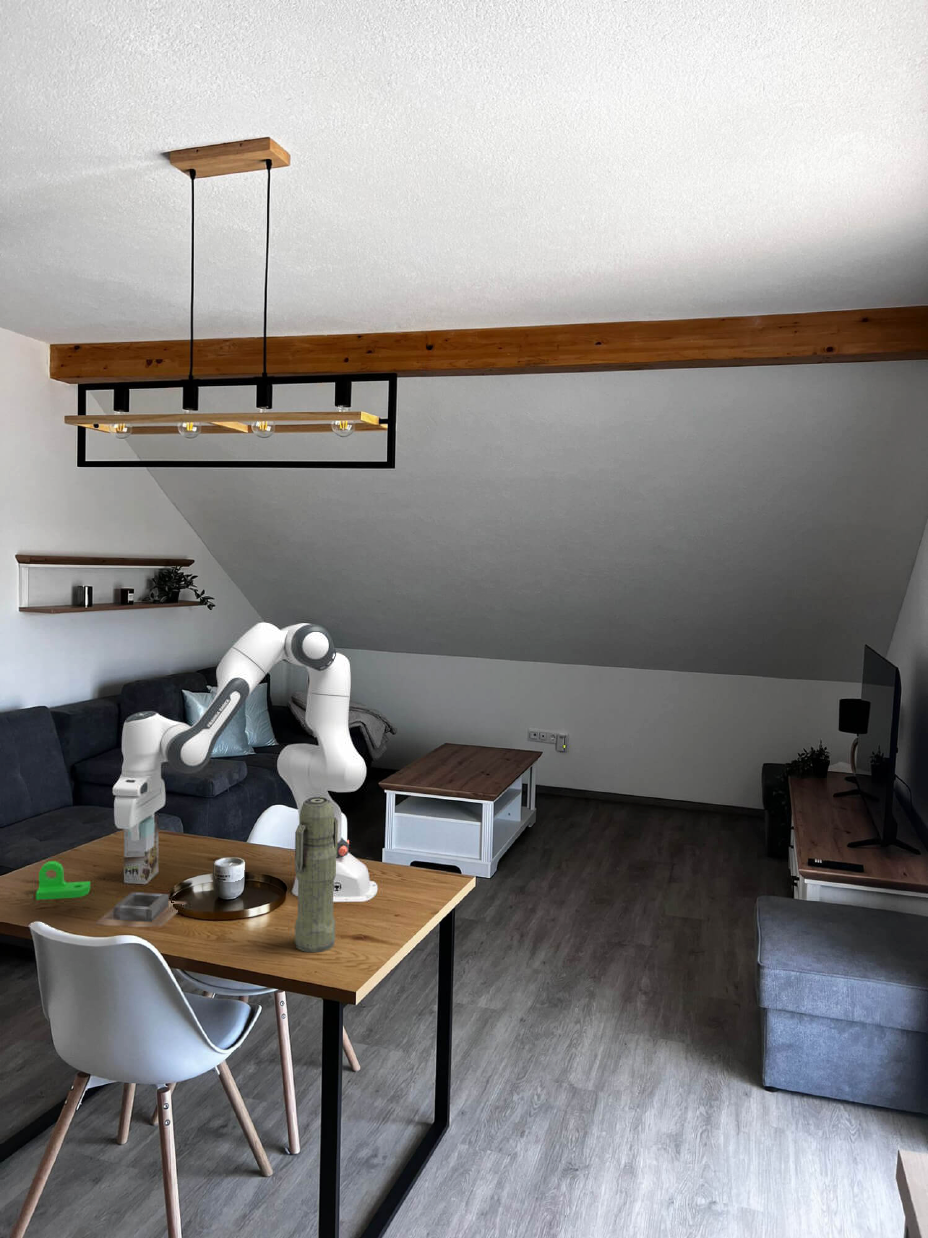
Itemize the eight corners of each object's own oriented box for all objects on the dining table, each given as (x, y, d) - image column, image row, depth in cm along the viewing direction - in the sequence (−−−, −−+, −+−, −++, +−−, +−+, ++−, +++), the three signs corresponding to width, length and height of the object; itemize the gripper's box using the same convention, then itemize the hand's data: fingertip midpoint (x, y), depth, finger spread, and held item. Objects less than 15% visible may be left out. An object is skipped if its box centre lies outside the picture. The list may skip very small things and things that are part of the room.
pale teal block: (154, 845, 222) (154, 817, 221) (146, 852, 217) (146, 823, 217) (136, 844, 222) (136, 816, 222) (128, 851, 218) (128, 822, 217)
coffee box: (147, 884, 241) (147, 825, 240) (123, 883, 242) (123, 824, 240) (159, 872, 250) (159, 815, 249) (136, 871, 251) (136, 814, 249)
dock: (186, 905, 228) (186, 890, 228) (159, 933, 213) (159, 916, 212) (125, 901, 230) (125, 886, 230) (93, 928, 214) (93, 912, 214)
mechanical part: (36, 901, 229) (35, 870, 229) (40, 892, 235) (40, 861, 234) (87, 897, 232) (86, 867, 232) (90, 888, 238) (90, 859, 237)
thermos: (346, 946, 208) (349, 796, 205) (314, 967, 198) (317, 809, 195) (315, 937, 213) (318, 790, 210) (282, 957, 202) (284, 803, 199)
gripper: (147, 768, 229) (147, 822, 230) (108, 790, 209) (109, 849, 210) (171, 769, 228) (171, 823, 230) (135, 791, 208) (135, 850, 209)
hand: (141, 835), depth 219 cm, fingers closed on pale teal block, 4 cm apart
